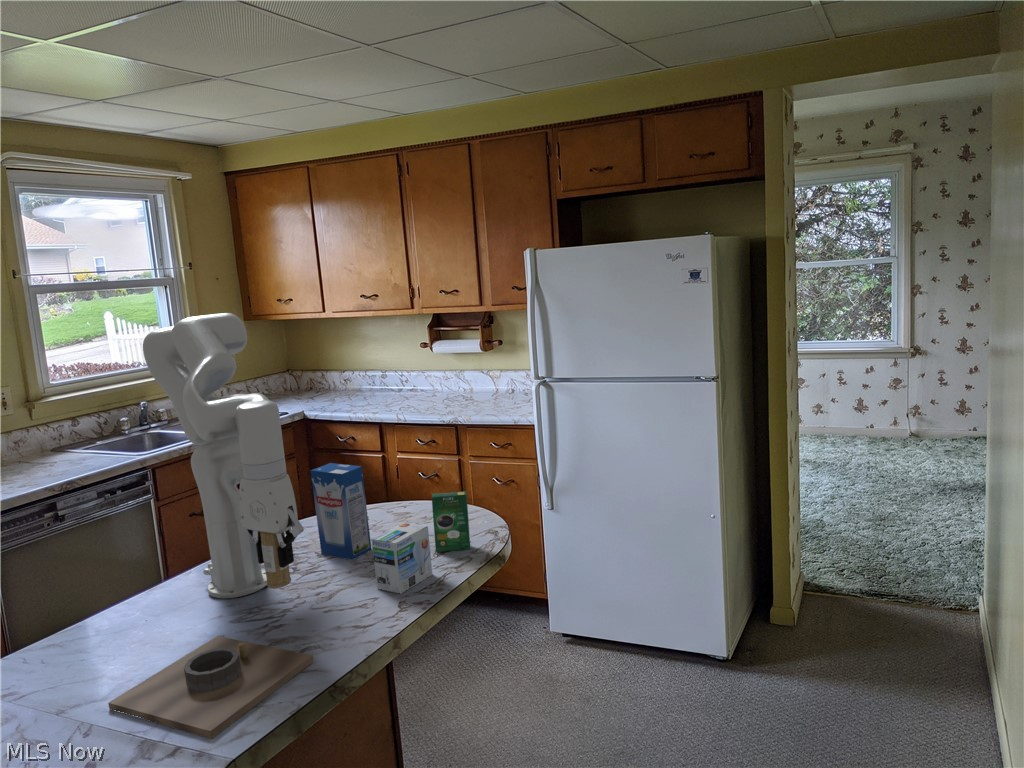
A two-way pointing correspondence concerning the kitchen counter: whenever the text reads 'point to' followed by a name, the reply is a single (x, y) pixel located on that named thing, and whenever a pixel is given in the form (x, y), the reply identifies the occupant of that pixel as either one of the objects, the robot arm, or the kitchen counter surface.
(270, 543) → the sprinkles bottle
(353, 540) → the milk carton
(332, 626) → the kitchen counter surface
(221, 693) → the collar board
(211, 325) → the robot arm
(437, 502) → the coffee box
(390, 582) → the light bulb box
